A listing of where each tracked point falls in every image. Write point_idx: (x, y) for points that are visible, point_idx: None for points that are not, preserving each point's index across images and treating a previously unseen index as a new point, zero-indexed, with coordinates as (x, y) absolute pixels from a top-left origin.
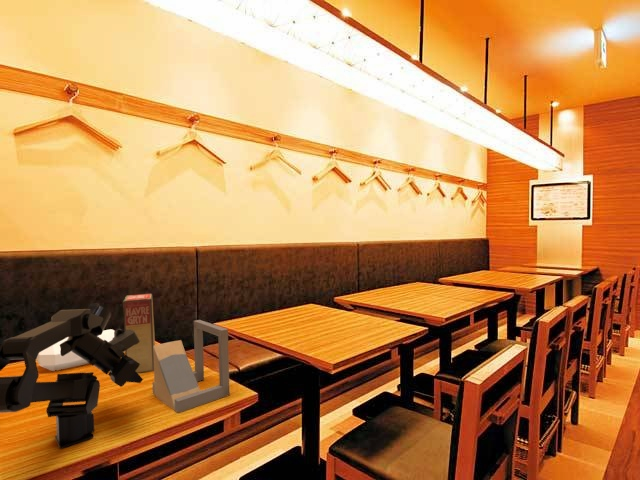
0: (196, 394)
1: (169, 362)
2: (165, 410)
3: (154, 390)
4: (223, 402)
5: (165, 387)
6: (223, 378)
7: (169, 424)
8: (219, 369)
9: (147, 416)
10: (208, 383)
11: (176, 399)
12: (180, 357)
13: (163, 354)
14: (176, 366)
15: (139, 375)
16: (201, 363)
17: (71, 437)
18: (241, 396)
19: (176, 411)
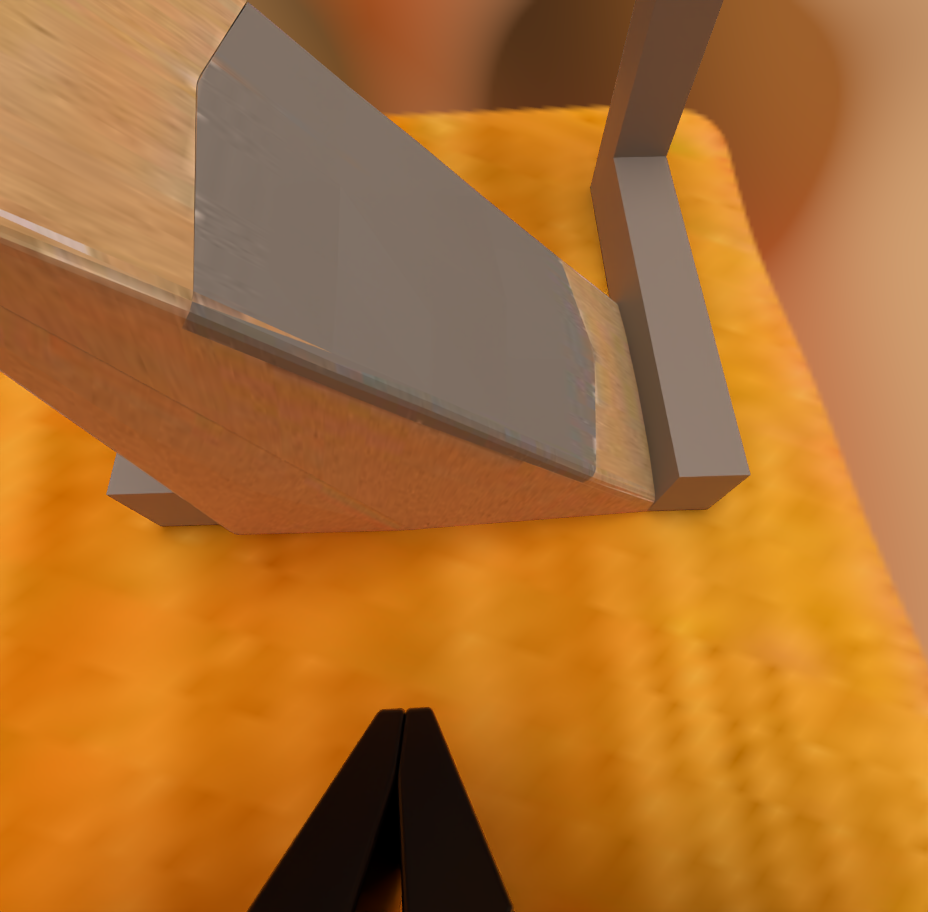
0: (691, 319)
1: (298, 224)
2: (597, 565)
3: (186, 515)
4: (718, 246)
5: (477, 467)
6: (687, 90)
7: (877, 627)
8: (657, 23)
9: (618, 724)
10: None
11: (699, 467)
12: (277, 78)
13: (103, 158)
14: (380, 217)
15: (465, 792)
16: None
17: None
18: (696, 154)
19: (681, 509)
